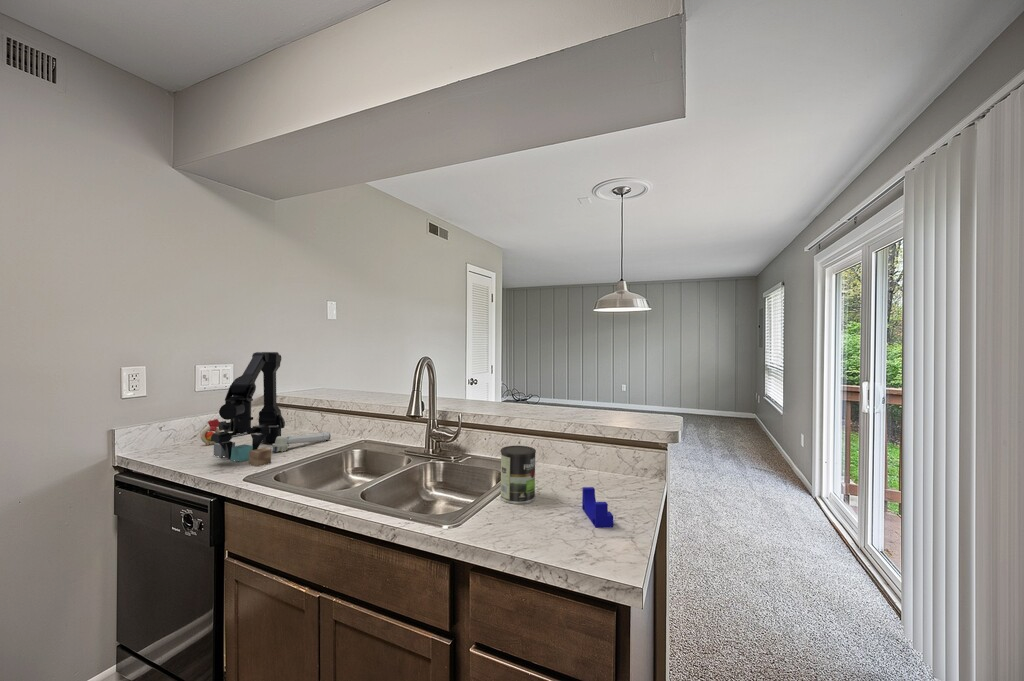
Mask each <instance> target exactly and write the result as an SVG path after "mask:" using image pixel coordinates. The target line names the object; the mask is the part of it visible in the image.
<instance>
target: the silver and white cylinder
mask: <svg viewBox="0 0 1024 681" xmlns="http://www.w3.org/2000/svg"><path fill="white" fill-rule="evenodd" d="M326 440H329V441H330V440H331V433H330V432H327V431H326V432H325V431H324V432H323V431H319V432H316V433H308V434H307V433H306V434H299V435H289V436H286V435H281V436H278V437H277V438H276V441H275V443H273V444H271V446H272V452H274V453H278V452H281V453H284V452H283V451H285V452H286V450H287V451H288V447H289V446H290V445H293V444H305V443H306V444H307V443H317V442H318V443H319V442H320V443H323V442H327V441H326Z"/></svg>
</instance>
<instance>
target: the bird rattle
mask: <svg viewBox="0 0 1024 681" xmlns="http://www.w3.org/2000/svg"><path fill="white" fill-rule="evenodd" d="M219 422H220V421H219V419H217V418H215V419H212V420H208V421H207V423H208V426H207V427H206V428H204V429H203V430H202V431H201V433H200V440H201V442H203V444H205V445H206V446H207V445H208V446H210V445H214V444H215V442H213V441H211V436H212V435H213V433H218V432H221V431H220V430H219ZM209 444H210V445H209Z"/></svg>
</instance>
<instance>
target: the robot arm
mask: <svg viewBox="0 0 1024 681" xmlns="http://www.w3.org/2000/svg"><path fill="white" fill-rule="evenodd" d="M251 357H252V358H251V359H250V361H249V362H248V364H247V366H246V368H245V369H244V371H243V373H242V374H241V375H240V376H237V377H236V378H235V379H234V380H233V382H231V384H230V385H229V388H228V390H227V392H226V395H225V397H224V398H225V399H224V401H225V402H224V403H225V404H222V405H221V406H220V408H219V410H218V411H219V412H218V413H219V416H220V418H221V419H222V420H223V421H219V427H218V429H219V430H220V432H218V433H215V432H213V435H212V436H211V441H213V442H215V443H218V444H220V445H221V446H222V448H223V450H224V452H225V455H226V457H225V458H227V460H231V451H232V442H233V441H231V440H232V439H233V438H239V437H242V436H247V435H250V436H251V438H252V440H251V442H252V444H251V446H253V450H255V449H259V447H260V446H261V444H265V443H266V445H272V444H275V441H276V438H277V437H278V436H282V429H284V428H285V425H286V421H285V419H284V417H283V415H282V410H281V409H280V407H279V405H278V404H277V403H278V402H277V371H278V370H279V368H280V367H281V362H282V355H281V354H279V352H277V351H260V352H259V351H257V352H253V353H252V355H251ZM261 372H262V373H263V374H262V376H263V407H262V409H261V410H259V412H258V419H257V420H258V424H257V425H253V426H252V421H253V420H254V417H253V416H252V402H253V400H254V398H253V396H254V394H255V393H256V389H257V386H256V381H257V379H258V377H259V375H260V373H261ZM226 420H227V421H228V422H227V421H226ZM229 420H230V422H229ZM215 443H214V444H215Z"/></svg>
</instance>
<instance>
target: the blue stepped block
mask: <svg viewBox="0 0 1024 681" xmlns="http://www.w3.org/2000/svg"><path fill="white" fill-rule="evenodd" d="M581 490H582V494H581V496H582V498H581V500H582V502H581V505H582V506H581V509H582V510H583V512H584V513H585V514H586V516H587V517H588V519H589V521H591V523H592V525H593V526H594V527H595V528H596V529H601V528H603V529H604V528H606V529H607V528H614V515H613V514H612V513H611V511H609V510H608V509H609V508H608V506H609V504H608V503H607V501H596V490H595V487H594V486H589V487H588V486H584V487H583V486H582V489H581Z"/></svg>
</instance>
